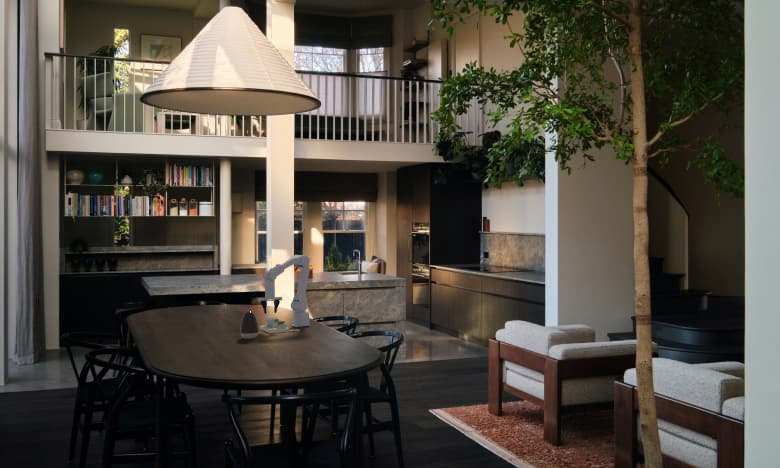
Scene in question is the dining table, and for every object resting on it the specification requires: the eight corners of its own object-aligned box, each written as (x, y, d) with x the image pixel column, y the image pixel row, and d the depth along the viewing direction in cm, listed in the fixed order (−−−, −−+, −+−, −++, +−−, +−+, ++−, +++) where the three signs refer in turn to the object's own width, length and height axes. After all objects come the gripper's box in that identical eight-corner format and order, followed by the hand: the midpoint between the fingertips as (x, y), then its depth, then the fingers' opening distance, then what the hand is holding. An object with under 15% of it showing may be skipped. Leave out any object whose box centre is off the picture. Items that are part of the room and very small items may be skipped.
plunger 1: (276, 323, 431) (276, 318, 431) (278, 324, 428) (278, 319, 428) (271, 323, 430) (271, 318, 429) (273, 324, 426) (272, 319, 426)
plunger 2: (282, 325, 421) (282, 320, 421) (284, 326, 418) (284, 321, 418) (277, 326, 420) (276, 321, 420) (278, 326, 417) (278, 321, 417)
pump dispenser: (261, 336, 400) (260, 310, 399) (255, 339, 389) (255, 312, 389) (243, 336, 401) (243, 310, 400) (237, 339, 390) (237, 312, 390)
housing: (278, 327, 434) (278, 320, 433) (289, 331, 417) (289, 324, 417) (259, 329, 428) (259, 322, 428) (269, 333, 411) (269, 326, 411)
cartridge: (273, 326, 425) (272, 317, 425) (275, 327, 421) (275, 318, 421) (265, 326, 423) (265, 317, 423) (268, 327, 419) (268, 318, 419)
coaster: (297, 329, 423) (297, 329, 423) (301, 331, 417) (301, 330, 417) (287, 330, 420) (287, 329, 420) (291, 332, 414) (291, 331, 414)
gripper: (279, 289, 428) (279, 311, 429) (256, 290, 422) (256, 313, 422) (283, 290, 422) (283, 312, 422) (259, 291, 415) (260, 314, 416)
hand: (270, 313), depth 422 cm, fingers open, 6 cm apart
